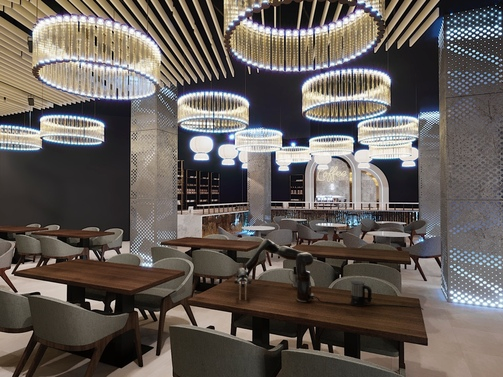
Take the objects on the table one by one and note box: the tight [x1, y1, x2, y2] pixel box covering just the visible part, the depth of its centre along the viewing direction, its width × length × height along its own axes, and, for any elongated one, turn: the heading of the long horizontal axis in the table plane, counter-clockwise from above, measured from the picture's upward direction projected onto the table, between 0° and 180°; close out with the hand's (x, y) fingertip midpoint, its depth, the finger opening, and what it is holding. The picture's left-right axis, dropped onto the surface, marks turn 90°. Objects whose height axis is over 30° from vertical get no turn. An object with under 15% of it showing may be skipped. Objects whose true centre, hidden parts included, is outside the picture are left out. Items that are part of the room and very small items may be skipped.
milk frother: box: [350, 280, 373, 307], centre depth 228 cm, size 14×16×15 cm
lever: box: [240, 281, 246, 288], centre depth 235 cm, size 12×5×2 cm, turn 2°
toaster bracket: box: [238, 282, 248, 301], centre depth 231 cm, size 10×8×13 cm
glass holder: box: [288, 266, 297, 288], centre depth 269 cm, size 9×14×15 cm, turn 124°
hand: (242, 283), depth 238 cm, fingers closed on lever, 5 cm apart
